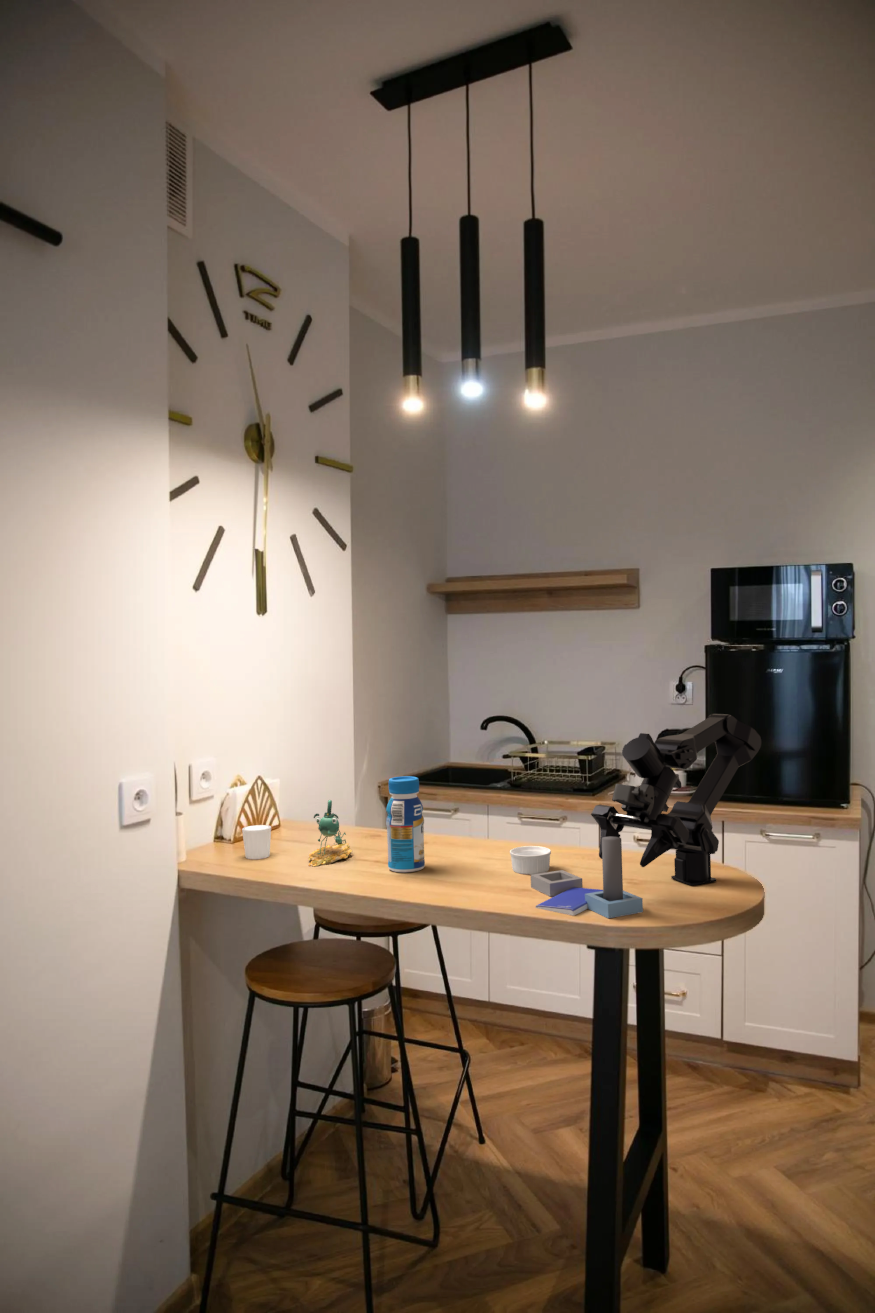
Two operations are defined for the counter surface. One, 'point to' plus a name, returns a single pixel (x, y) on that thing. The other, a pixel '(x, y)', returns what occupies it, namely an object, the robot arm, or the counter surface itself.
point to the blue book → (568, 901)
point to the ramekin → (530, 859)
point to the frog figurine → (328, 829)
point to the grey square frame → (555, 882)
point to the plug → (612, 868)
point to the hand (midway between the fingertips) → (620, 861)
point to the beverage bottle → (405, 825)
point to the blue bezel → (614, 904)
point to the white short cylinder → (257, 841)
